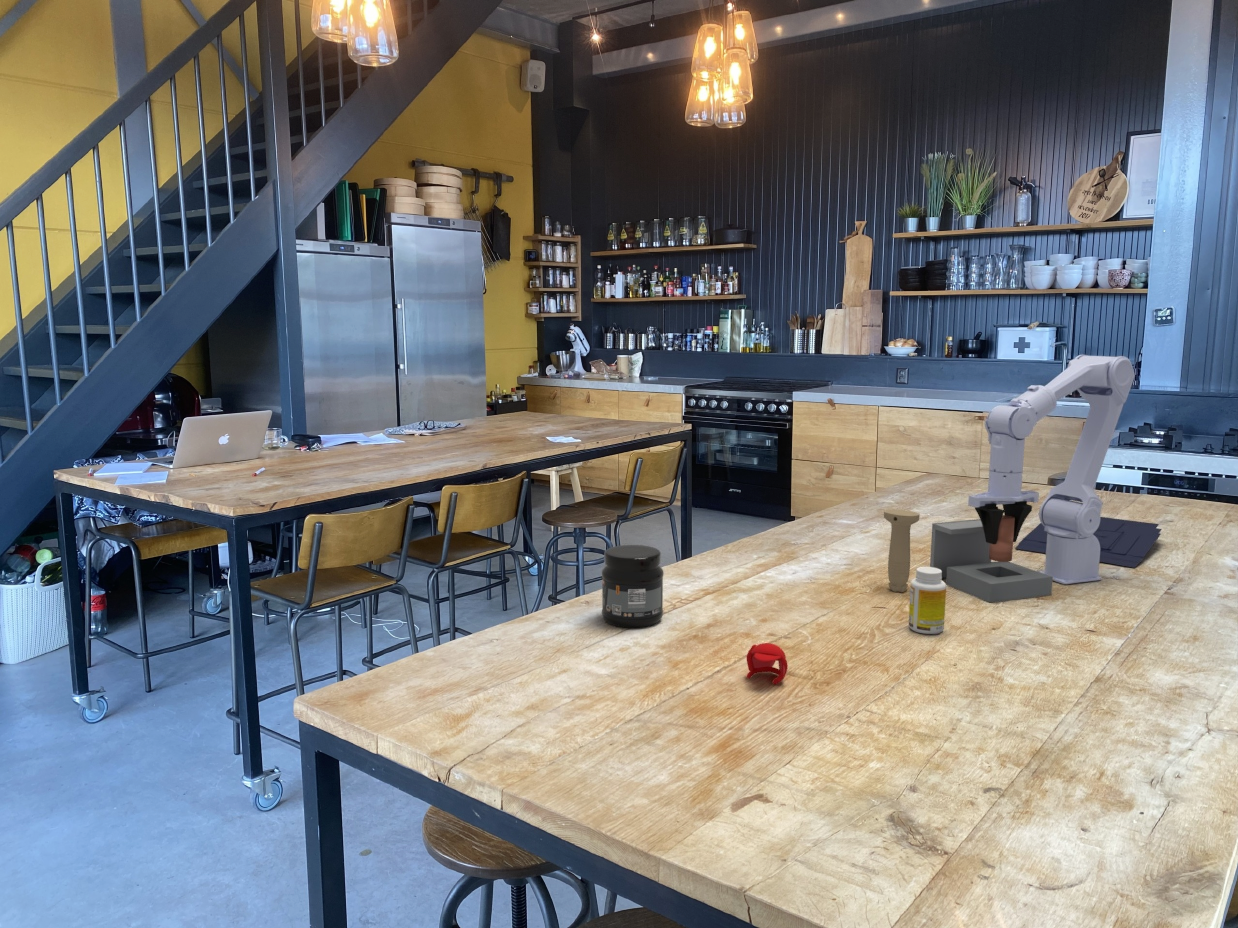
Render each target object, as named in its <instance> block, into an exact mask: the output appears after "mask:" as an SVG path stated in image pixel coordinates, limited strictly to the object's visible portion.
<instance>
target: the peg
mask: <svg viewBox="0 0 1238 928" xmlns="http://www.w3.org/2000/svg"><path fill="white" fill-rule="evenodd" d="M1014 523H1015V518H1014V517H1012V516H1006V515H1004V514H1003V516H1002V518H1001V521H1000V525H999V532H998V540H997V543H996V544H991V543H990V548H989V559H991V561H993V562H998V561H1000V562H1011V561H1012V560H1013V550H1014V549H1013V548H1014V547H1013V546H1014V542H1013V537H1014Z"/></svg>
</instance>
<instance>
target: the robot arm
mask: <svg viewBox="0 0 1238 928" xmlns="http://www.w3.org/2000/svg"><path fill="white" fill-rule="evenodd" d="M1135 377H1136V374H1135V371H1134V368H1133V365H1132V362H1131V360H1130V359H1129V358H1128V357H1127V356H1124V355H1119V356H1109V355H1108V356H1104V355H1087V354H1079V355H1077V356H1076V357H1074V358H1073V359H1070V360H1069V361H1068V365H1067V368H1065V370H1063V371H1062V372H1061V373H1060V374H1058V375H1056V377H1054V378H1053V379H1052V380H1051V381H1049V382H1048V383H1047V384H1046V385H1040V384H1038V385H1037V384H1036V385H1033V384H1032V385H1030V386H1028V387H1027V390H1026V391H1025V392H1023V393H1022V394H1020V395H1019V396H1017V397H1013V398H1012V399H1010V401H1009V402H1008V403H1007V404H1005V405H1002V404H1001V405H1000V404H999V405H996V406H995V407H993V408H992V409H991V410H990V411H988V414H987V416H986V419H985V420H984V427H985V430H986V432H987V434H988V439H987V440H988V441H987V442H989V443H988V444H989V445H990V452H989V453H990V454H989V467H988V469H989V470H988V481H987V482H988V484H987V491H985V492H982V493H981V492H980V493H977V494H971V495H968V501H967V502H968V503H967V506H969V507H971V508H972V507H973V508H974V510H975V511H976V514H977V515H978V518H979V519H980V520H981V522H982V526H983V529H984V534H985V539H986V542H987V543H991V544H996V543H997V540H998V532H999V525H1000V521H1001V518H1002V516H1003V515H1006V516H1012V517H1014V518H1015V523H1014V537H1013V543H1017V540H1018V537H1019V534H1020V531H1021V529H1022V527H1023V525H1024V523H1025V520H1026V519H1027V517H1028V516H1029V515H1030V514H1031V512H1032V511H1033V505H1031V504H1028V503H1033V504H1034V503H1039V501H1040V500H1039V497H1040V492H1039V491H1035V490H1022V485H1023V469H1024V457H1025V456H1024V455H1025V444H1026V443H1025V442H1026V438H1027V437H1028V438H1029V436H1031V433H1032V432H1033V429H1034V427H1035V426H1036V424H1037V423H1038V422H1039V421H1041V420H1042V419H1043V418H1045V417H1046V416H1048V415H1049V414H1050V413H1052V412H1053V411H1055V409H1056V407H1057V405H1058V404H1057V402H1058V401H1059V400H1062V399H1063V398H1065V397H1066V396H1068V395H1070V394H1071V393H1074V392H1075V391H1077V393H1079V395H1080V396H1081V397H1082V399H1083V400H1085V401H1087V403H1088V404H1089V407H1090V408H1089V411H1088V413H1087V417H1086V418H1085V421H1084V424H1083V427H1082V430H1081V433H1080V436H1079V439H1078V442H1077V445H1076V446H1075V450H1074V453H1073V456H1072V458H1071V461H1070V464H1069V466H1068V469H1067V473H1066V476H1065V479H1064V481H1063V482H1061V483H1059V484H1057V485H1055V486H1053V487H1052V488H1050V489H1049V492H1048V494H1047V495H1046V498H1045V499H1044V500H1043V501H1042V503H1041V505H1040V506H1039V512H1038V517H1039V522H1040V523H1042V525H1043V526H1045V529H1044V531H1047V532H1048V533H1047V546H1046V553H1045V561H1044V569H1043V570H1036V571H1037V572H1040V573H1043V574H1046V575H1049V576H1052V577H1053V581H1054V582H1056V583H1059V584H1062V585H1069V584H1077V583H1085V582H1086V583H1087V582H1095V581H1101V580H1102V577H1101V576H1099V569H1100V562H1099V559H1100V544H1099V541H1098V539H1097V538H1096V537H1095V536H1094V535H1093V533H1094V532H1095V531H1096V530H1097V528H1098V527H1099V524H1100V517H1101V511H1102V506H1103V505H1104V501H1102V499H1101V497H1099V495H1098V494H1097V492H1095V490H1094V488H1095V487H1096V483H1097V481H1098V478H1099V474H1100V472H1101V470H1102V466H1103V464H1104V462H1105V458H1106V456H1107V453H1108V450H1109V447H1110V443H1111V441H1112V439H1113V435H1114V432H1115V431H1116V427H1117V425H1118V422H1119V418H1120V416H1121V413H1122V410H1123V407H1124V404H1125V403H1126V402H1127V399H1128V396H1129V393H1130V390H1131V388H1132V385H1133V382H1134V381H1135ZM1000 505H1002V508H999V506H1000ZM1053 581H1052V582H1053Z"/></svg>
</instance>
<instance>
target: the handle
mask: <svg viewBox="0 0 1238 928" xmlns="http://www.w3.org/2000/svg"><path fill="white" fill-rule="evenodd" d="M883 518H884V520H886V521H887V522H889V523H890V524H891V525H890V526H891V530H890V543H889V552H888V561H887V572H888V573H887V574H888V575H887V576H888V581H889V582H888V588H889V590H890V591H892V592H895V593H896V592H898V593H904V592H906V591H907V590H908V584H909V583H908V582H909V577H910V571H911V526H912V525H913V524H916V523H918V522H919V521H920V513H919V512H916V511H912V510H905V509H898V508H897V509H895V508H891V509H885V510H883Z"/></svg>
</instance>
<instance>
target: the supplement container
mask: <svg viewBox="0 0 1238 928" xmlns="http://www.w3.org/2000/svg"><path fill="white" fill-rule="evenodd" d="M661 554H662V553H661V551H660V549H658V548H656V547H653V546H649V545H643V544H642V545H641V544H622V545H615V546H612V547H608V548H607V549H606V550H605V551H604V555H603V556H604V564H605V566H603V568H602V570H601V574H600V575H601V579H602V580H601V582H602V583H601V586H602V589H601V591H602V593H601V594H602V596H601V597H602V601H601V602H602V606H601V607H602V609H601V616H602V618H603V620H605V621H606V622H607V623H608V624H611V625H612V626H616V627H620V628H626V629H627V628H628V629H629V628H630V629H636V628H646V627H650V626H652V625H655V624H657V623H659V622H660V620H661V619H662V618H663V616H664V615H663V614H664V609H663V608H664V606H663V603H664V601H663V598H664V597H663V596H664V595H663V591H664V590H663V588H664V586H663V585H664V581H663V580H664V576H665V575H664V569H663V568H662V567H661V565H660V564H661V560H662V558H661V557H662V556H661Z"/></svg>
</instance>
